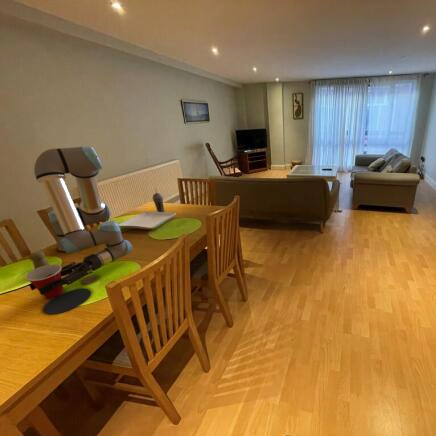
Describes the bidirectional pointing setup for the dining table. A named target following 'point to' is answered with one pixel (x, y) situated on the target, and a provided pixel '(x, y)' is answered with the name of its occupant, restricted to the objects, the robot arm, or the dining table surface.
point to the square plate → (147, 220)
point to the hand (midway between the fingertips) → (35, 289)
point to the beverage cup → (158, 201)
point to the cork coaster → (90, 279)
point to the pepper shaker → (38, 259)
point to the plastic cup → (46, 279)
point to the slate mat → (67, 301)
